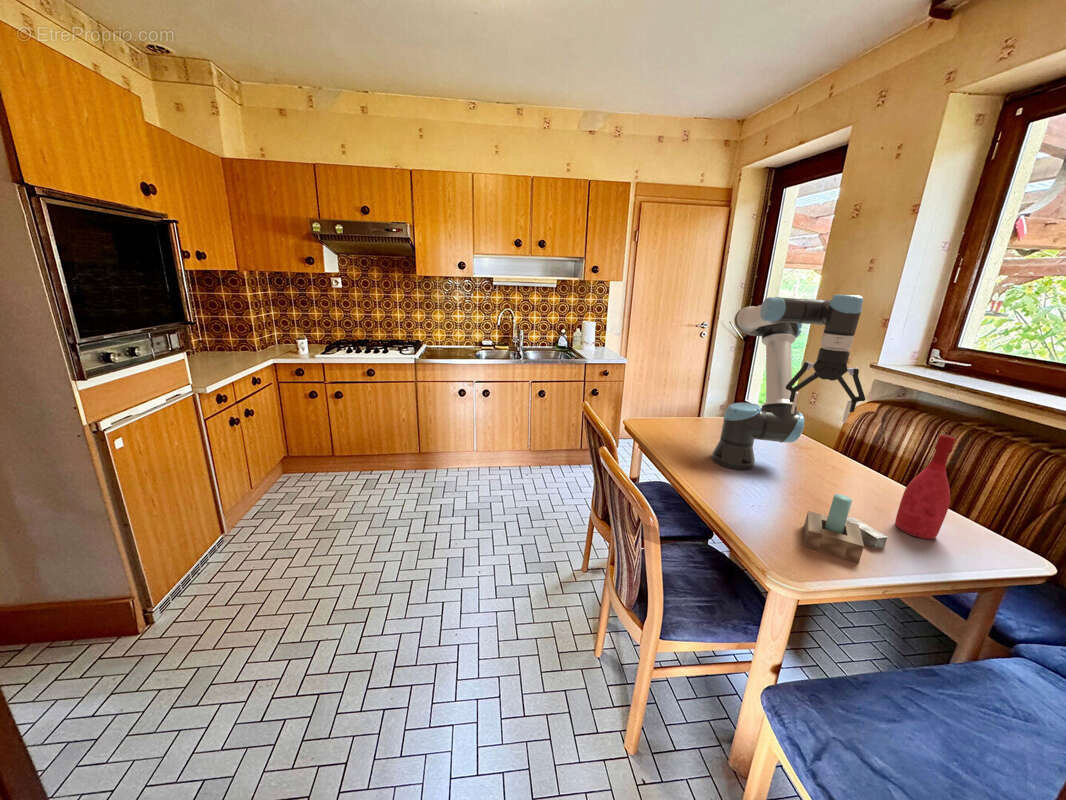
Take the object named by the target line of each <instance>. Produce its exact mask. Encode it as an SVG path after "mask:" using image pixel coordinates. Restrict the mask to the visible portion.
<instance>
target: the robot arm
mask: <svg viewBox="0 0 1066 800" xmlns="http://www.w3.org/2000/svg"><path fill="white" fill-rule="evenodd" d="M863 303H864V297H863V296H861V295H851V294H834V295H833V296H832V297H831V299H812V298H793V297H792V298H791V297H781V296H774V297H771V296H770V297H766V298H765V299H764V300H763V301H762V303H761V304H759V305H758V306H757V305H756V306H754V305H750V306H745V307H743V308H741V309H738V311H737V312H736V313H735V315H734V319H733V321H734V325H735V327H736V329H737V330H738V331H739V332H741V333H742V334H745V335H747V336H751V337H752V336H753V337H761V343H762V344H763V345H765V368H766V369H765V370H766V371H765V390H766V391H765V393H766V395H765V400H766V401H765V403H763V404H762V405H761V406H760V405H758V404H756V403H750V402H734V403H731V404H729V405H728V406H727V407H726V409H725V412H724V415H723V423H722V427H721V433H720V437H719V438H720V439H719V441H718V443H717V444H716V446H715V448H714V449H713V452H712V456H711V460H713V462H714V463H716V464H718V465H720V466H722V467H725V468H728V469H733V470H738V471H739V470H741V471H748V470H752V469H753V468H754V467H755V463H756V458H755V454H754V443H755V442H754V441H755V440H759V441H770V442H778V443H795V442H796V441H798V440H799V438H800V437H801V435H802V433H803V431H804V427H805V416H804V414H803V413H802V412H800V411H798V406H797V402H798V397H799V391H800V390H801V389H802V388H804V387H806V386H807V385H808V384H810V383H812V382H813V381H815V380H816V379H818V378H819V379H821V380H828V381H831V382H832V381H833V382H834V381H836V380H838V383H839V384H840V385H841V387H842V388H843V390H844V391H845V392H846V394H847V396H848V397H849V398H850V399H847V402H846V404H845V405H846V406H845V410H844V413H843V417H842V423H843V424H847V421H848V418H849V415H850V413H854V412H855V409H856V406H857V403H858V402H865V401H866V400H867V399H866V396H865V394H864V390H863V387H862V383H861V381H860V377H859V373H860V369H859V367H857V366H856V367H848V366H847V365H848V362H849V358H850V355H851V354H850V353H851V352H850V350H851V349H852V346H853V342H854V338H855V334H856V331H857V328H858V323H859V321H860V317H861V313H862V311H863ZM804 324H805V325H821V326H824V329H823V332H822V338H821V341H820V348H819V350H818V353H817V358H816V361H815V363H813V362H809V361H807V360H806V361H803V364H802V367H801V368H800V369H799V370H798V372H797V373H796V374H795V375H794V376H793V377H792V375H793V374H792V369H793V368H792V344H794V343H795V341H796V339H797V338H798V337H799V336H801V335H800V334H801V332H802V328H803V325H804ZM811 368H813V370H814V373H812V374H811V375H809V376H807V378H805V379H803V380H802V381H801V382H799V383H798V384H796V382H798V380H799V379H800V378H801V377H802V376H803V375H804V373H806V371H807V370H810V369H811ZM846 373H849V375H850V376H851V377H852V379H853V383H854V386H855V389H856V391H857V394H858V396H856V395H855V393H853V390H852V389H851V388H850V386H849V385H848V384H847V382H846V381H845V379H844V378H843V376H844V375H845V374H846ZM795 384H796V385H795ZM794 385H795V386H794Z"/></svg>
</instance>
